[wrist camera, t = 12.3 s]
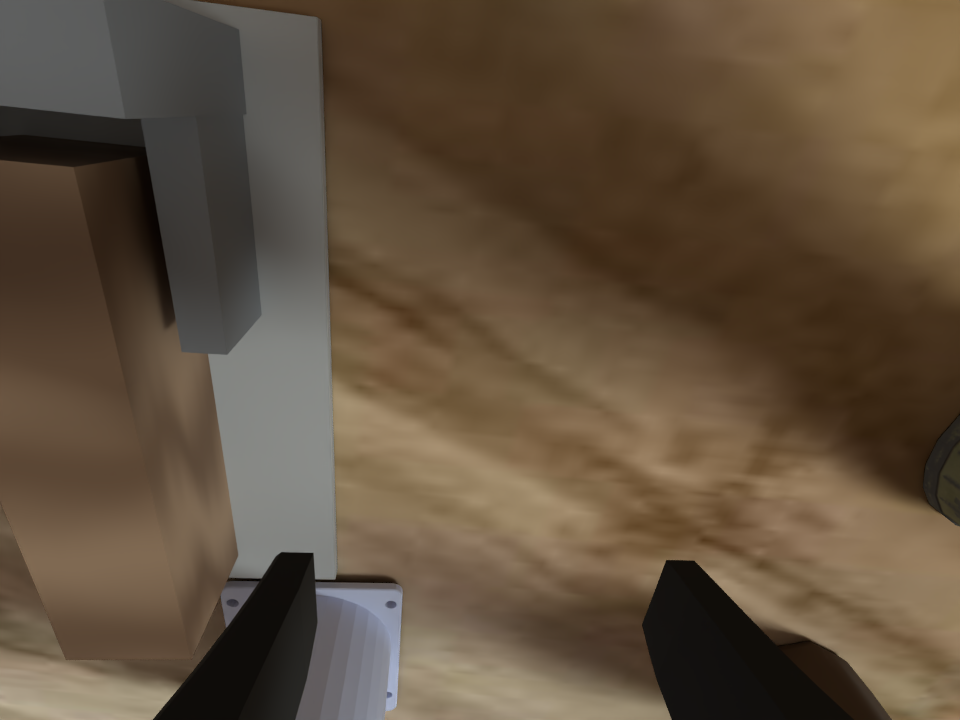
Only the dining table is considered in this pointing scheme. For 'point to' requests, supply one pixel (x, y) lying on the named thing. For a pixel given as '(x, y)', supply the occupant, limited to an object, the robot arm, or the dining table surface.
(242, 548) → the post bracket
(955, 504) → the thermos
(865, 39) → the dining table surface
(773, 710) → the robot arm
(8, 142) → the rail
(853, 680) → the beer bottle
